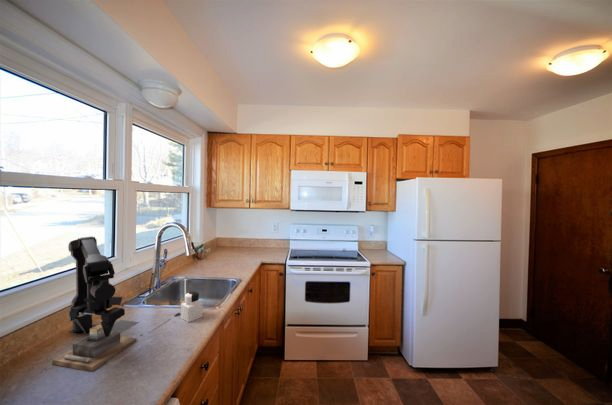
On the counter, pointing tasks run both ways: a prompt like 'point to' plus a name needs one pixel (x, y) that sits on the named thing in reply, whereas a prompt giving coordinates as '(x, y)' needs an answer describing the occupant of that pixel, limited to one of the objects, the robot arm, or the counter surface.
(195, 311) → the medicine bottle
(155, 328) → the tactical tomahawk
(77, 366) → the stand
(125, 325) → the key mat
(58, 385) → the counter surface
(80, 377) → the counter surface
